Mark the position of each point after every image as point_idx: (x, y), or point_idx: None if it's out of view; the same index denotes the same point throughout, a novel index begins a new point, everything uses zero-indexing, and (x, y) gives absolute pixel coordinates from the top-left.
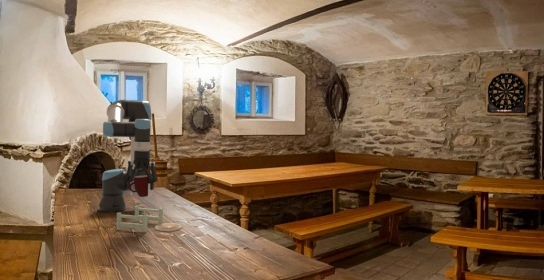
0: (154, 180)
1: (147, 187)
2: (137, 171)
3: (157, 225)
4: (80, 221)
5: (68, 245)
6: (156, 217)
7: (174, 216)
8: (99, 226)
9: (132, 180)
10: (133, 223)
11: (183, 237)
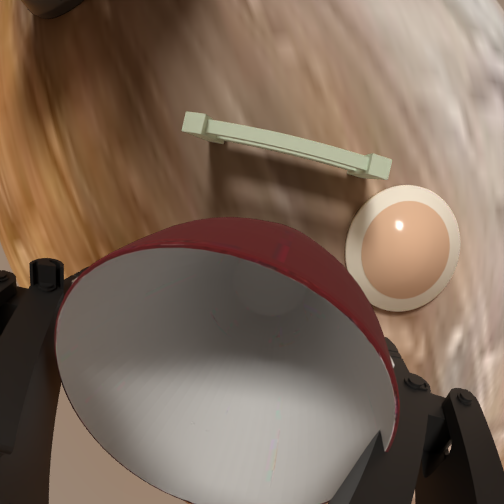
0: (431, 458)
1: (324, 377)
2: (21, 430)
3: (355, 239)
4: (21, 180)
5: None
6: (339, 166)
7: (379, 16)
8: (96, 246)
9: None
10: None
11: (451, 372)
